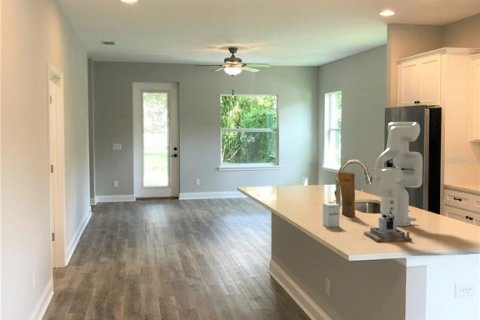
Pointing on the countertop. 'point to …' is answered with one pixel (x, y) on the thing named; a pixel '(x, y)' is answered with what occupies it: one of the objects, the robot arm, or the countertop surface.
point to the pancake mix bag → (347, 193)
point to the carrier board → (387, 235)
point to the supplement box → (331, 214)
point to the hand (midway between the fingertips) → (387, 227)
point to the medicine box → (384, 225)
